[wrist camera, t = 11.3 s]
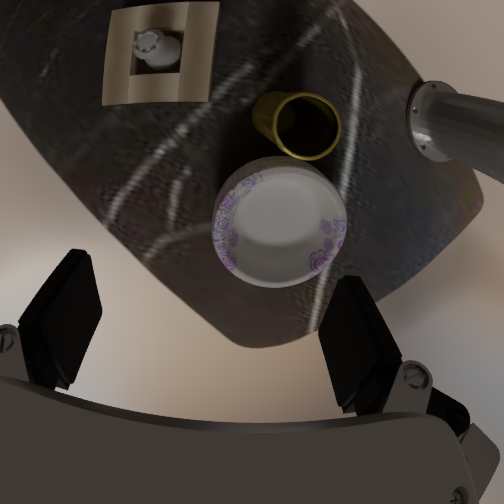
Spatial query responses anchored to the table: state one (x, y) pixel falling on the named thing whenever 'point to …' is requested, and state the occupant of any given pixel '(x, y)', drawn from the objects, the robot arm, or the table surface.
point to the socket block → (170, 81)
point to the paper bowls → (278, 222)
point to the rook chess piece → (157, 49)
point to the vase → (298, 123)
